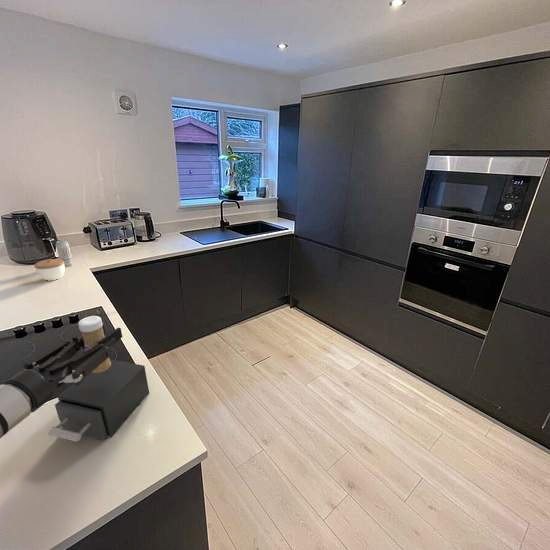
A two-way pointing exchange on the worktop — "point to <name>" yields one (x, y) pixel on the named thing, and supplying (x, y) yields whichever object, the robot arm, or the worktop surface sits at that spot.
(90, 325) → the sprinkles bottle
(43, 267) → the lidded bowl
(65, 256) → the clear ribbed bottle
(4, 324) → the worktop surface
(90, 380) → the cabinet
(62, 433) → the drawer
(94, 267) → the worktop surface
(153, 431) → the worktop surface
